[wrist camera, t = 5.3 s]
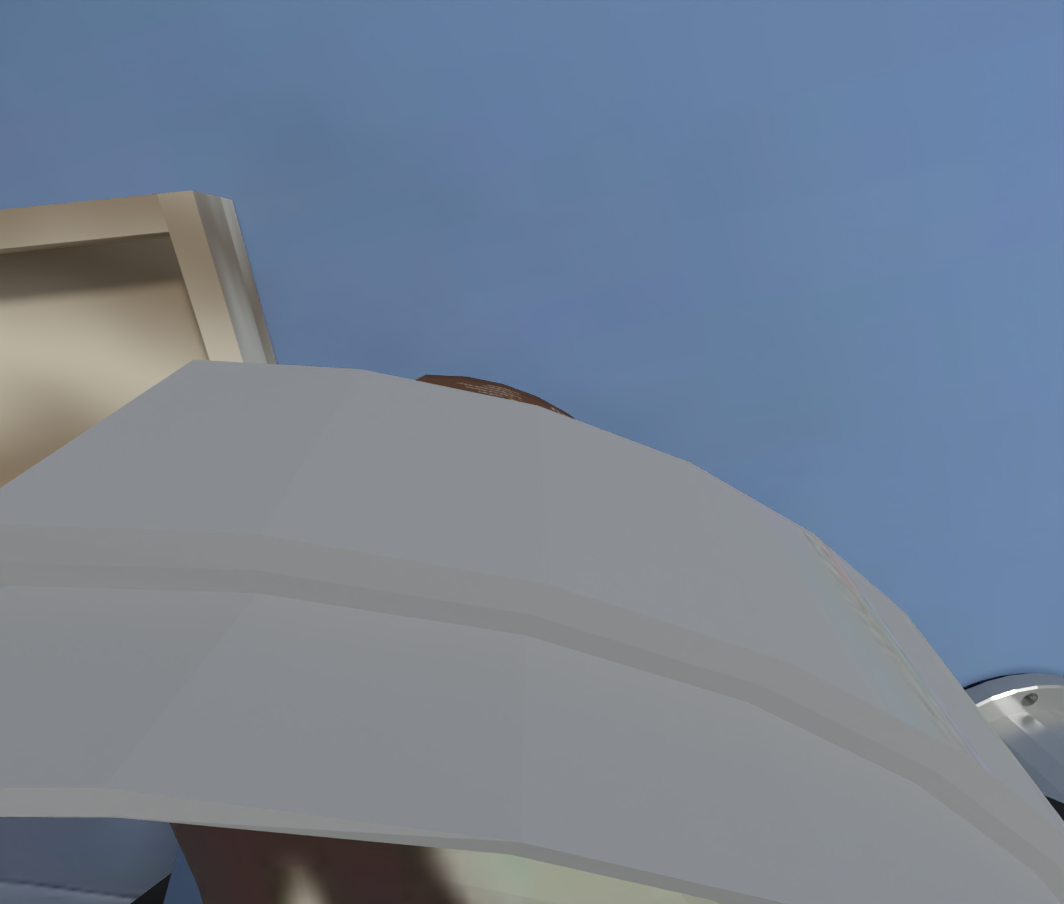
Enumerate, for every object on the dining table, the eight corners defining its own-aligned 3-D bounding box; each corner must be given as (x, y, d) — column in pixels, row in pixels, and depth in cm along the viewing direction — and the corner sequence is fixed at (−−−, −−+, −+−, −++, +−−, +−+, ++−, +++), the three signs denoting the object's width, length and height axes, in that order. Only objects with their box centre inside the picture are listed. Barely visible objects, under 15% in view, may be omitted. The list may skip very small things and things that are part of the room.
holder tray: (351, 637, 24) (336, 678, 21) (79, 673, 23) (33, 719, 21) (232, 199, 17) (192, 190, 15) (-144, 237, 17) (-246, 234, 15)
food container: (679, 759, 15) (1007, 1664, 5) (455, 771, 14) (360, 1754, 5) (726, 294, 11) (2606, 447, 1) (419, 299, 10) (-515, 550, 1)
